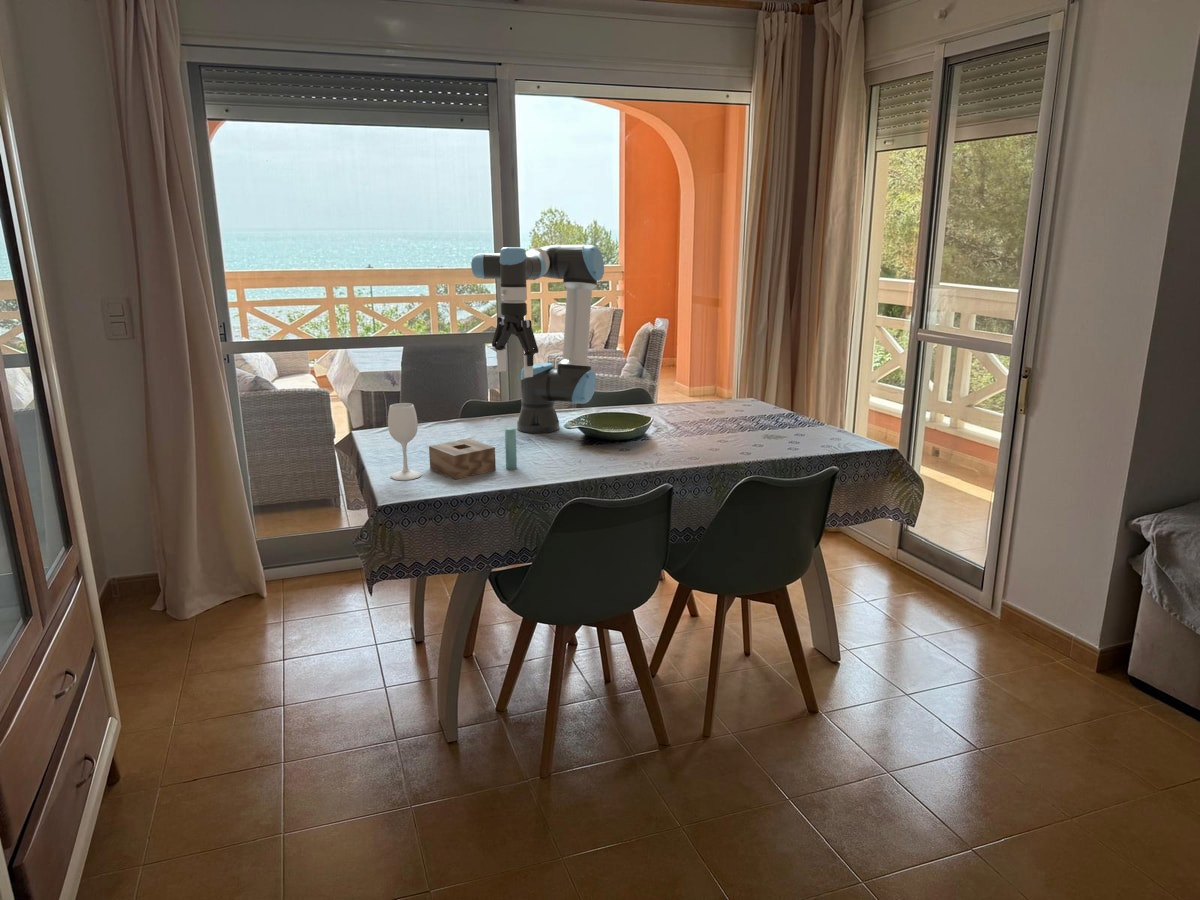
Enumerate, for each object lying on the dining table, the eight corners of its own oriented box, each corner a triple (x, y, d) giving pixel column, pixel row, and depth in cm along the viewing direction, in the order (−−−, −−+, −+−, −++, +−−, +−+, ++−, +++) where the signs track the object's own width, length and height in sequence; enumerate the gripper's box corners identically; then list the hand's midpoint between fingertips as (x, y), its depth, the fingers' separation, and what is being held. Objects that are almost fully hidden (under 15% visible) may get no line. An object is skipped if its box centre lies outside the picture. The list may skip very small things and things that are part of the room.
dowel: (512, 465, 243) (511, 427, 240) (518, 467, 241) (517, 429, 237) (503, 467, 241) (502, 428, 238) (510, 469, 239) (509, 430, 235)
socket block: (470, 460, 248) (469, 438, 246) (495, 470, 238) (494, 447, 236) (430, 468, 239) (428, 446, 238) (455, 479, 229) (453, 455, 227)
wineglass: (423, 471, 237) (419, 402, 231) (418, 480, 228) (414, 408, 223) (394, 471, 236) (389, 402, 231) (387, 480, 228) (382, 408, 222)
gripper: (479, 299, 240) (481, 370, 245) (528, 304, 222) (529, 380, 227) (500, 299, 245) (501, 368, 250) (550, 303, 226) (550, 378, 232)
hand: (514, 374), depth 238 cm, fingers open, 13 cm apart
